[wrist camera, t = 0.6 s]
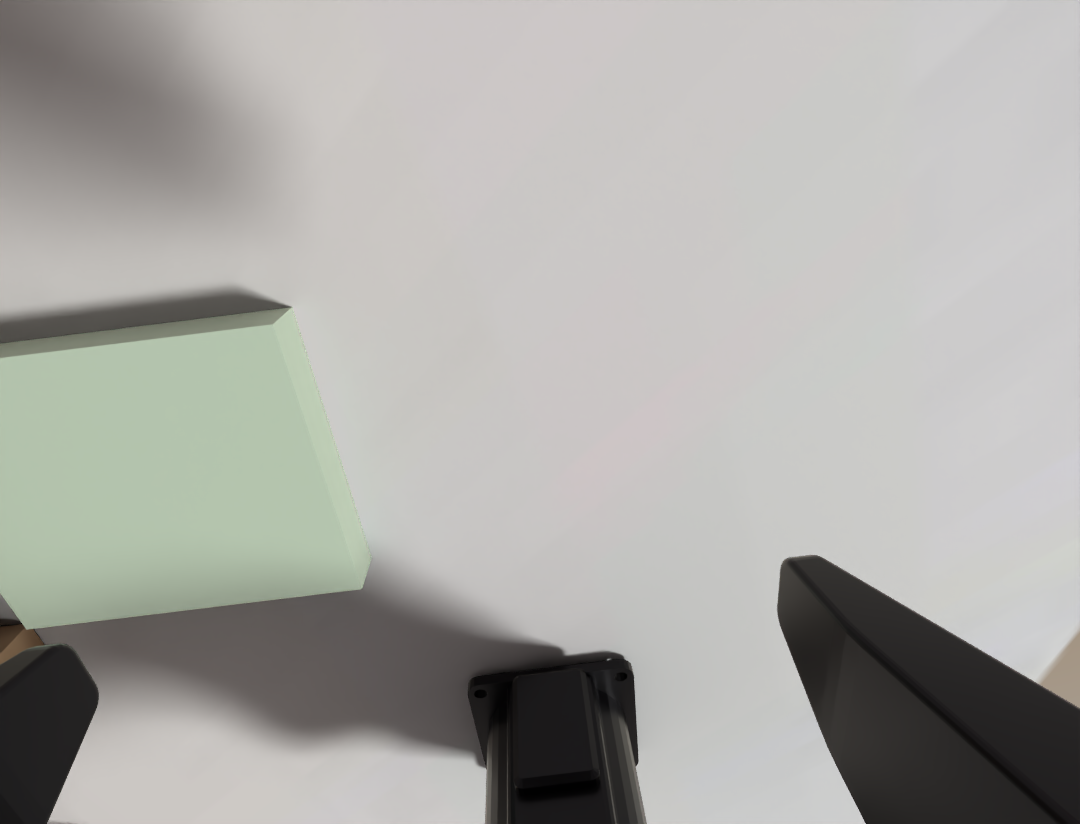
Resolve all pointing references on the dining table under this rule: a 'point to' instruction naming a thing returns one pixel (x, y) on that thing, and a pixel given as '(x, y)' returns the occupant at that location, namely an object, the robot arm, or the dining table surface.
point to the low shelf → (16, 641)
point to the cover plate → (169, 472)
